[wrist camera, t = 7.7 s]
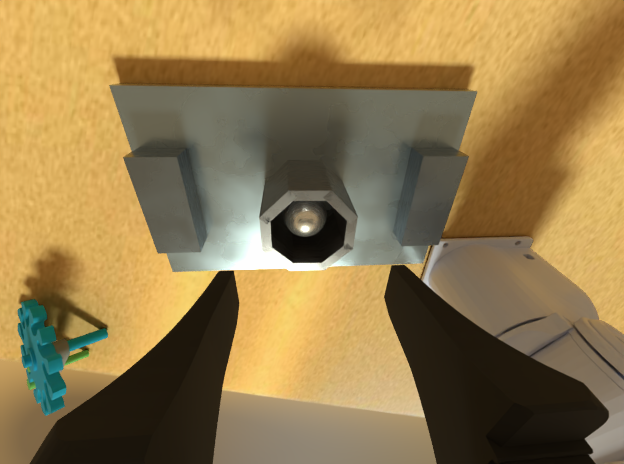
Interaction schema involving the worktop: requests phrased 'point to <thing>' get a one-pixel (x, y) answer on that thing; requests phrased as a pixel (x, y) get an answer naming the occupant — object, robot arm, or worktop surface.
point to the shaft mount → (291, 146)
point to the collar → (306, 187)
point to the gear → (48, 355)
